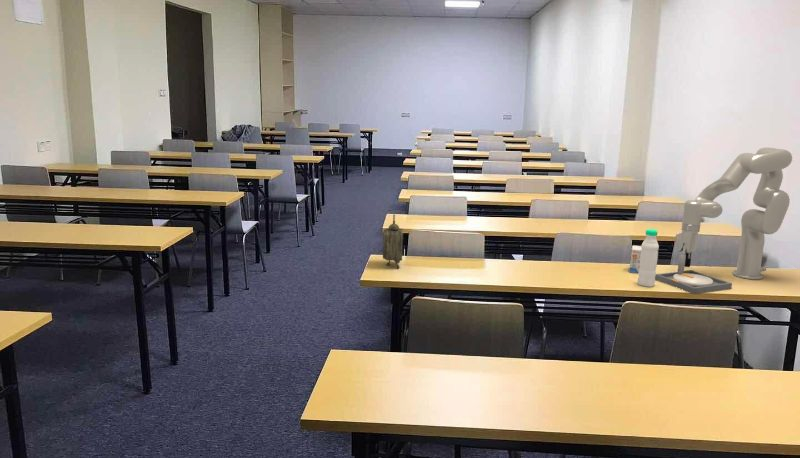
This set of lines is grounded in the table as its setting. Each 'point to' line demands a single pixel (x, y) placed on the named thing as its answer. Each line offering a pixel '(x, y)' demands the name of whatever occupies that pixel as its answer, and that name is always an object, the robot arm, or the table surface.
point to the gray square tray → (716, 286)
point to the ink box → (635, 259)
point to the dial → (690, 275)
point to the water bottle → (648, 259)
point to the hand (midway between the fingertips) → (685, 266)
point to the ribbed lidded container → (393, 243)
